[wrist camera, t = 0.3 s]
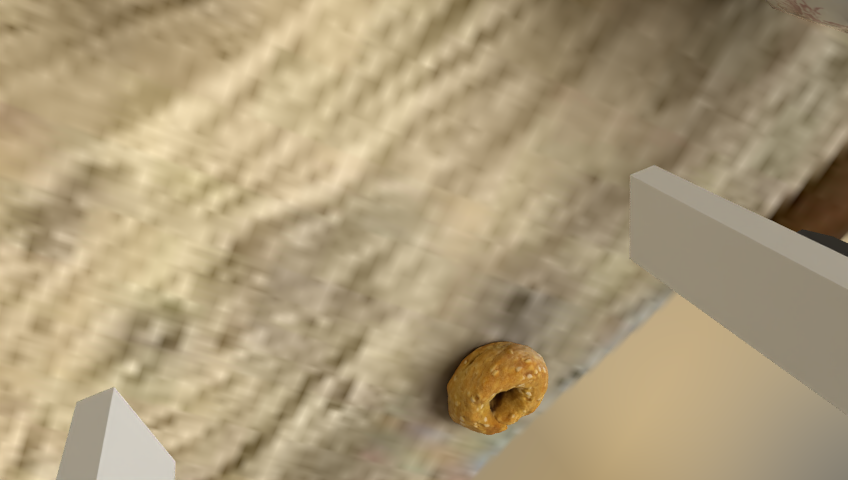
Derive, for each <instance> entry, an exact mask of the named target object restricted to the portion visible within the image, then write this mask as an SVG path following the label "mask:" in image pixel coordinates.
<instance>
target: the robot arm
mask: <svg viewBox="0 0 848 480" xmlns="http://www.w3.org/2000/svg"><path fill="white" fill-rule="evenodd" d="M630 259H631V260H632V261H634V262H635V263H636V264H638V265H639V266H641V267H642V268H643V269H645V270H646V271H647V272H649V273H650V274H652V275H653V276H654V277H656V278H657V279H659V280H660V281H661V282H663V283H664V284H665V285H667V286H668V287H670V288H671V289H672V290H674V291H675V292H677V293H678V294H679V295H681V296H682V297H684V298H685V299H686V300H688V301H689V302H691V303H692V304H693V305H695V306H696V307H697V308H699V309H700V310H702V311H703V312H704V313H706V314H707V315H709V316H710V317H711V318H713V319H714V320H716V321H717V322H719V323H720V324H721V325H722V326H724V327H725V328H727V329H728V330H729V331H731V332H732V333H734V334H735V335H736V336H738V337H739V338H741V339H742V340H743V341H745V342H746V343H748V344H749V345H750V346H752V347H753V348H754V349H756V350H757V351H759V352H760V353H761V354H763V355H764V356H765V357H767V358H768V359H770V360H771V361H772V362H774V363H775V364H777V365H778V366H779V367H781V368H782V369H784V370H785V371H786V372H788V373H789V374H790V375H792V376H793V377H795V378H796V379H797V380H799V381H800V382H802V383H803V384H804V385H806V386H807V387H808V388H810V389H811V390H813V391H814V392H815V393H817V394H818V395H820V396H821V397H823V398H824V399H825V400H827V401H828V402H829V403H831V404H832V405H834V406H835V407H836V408H838V409H839V410H840V411H842V412H843V413H845V414H846V415H847V416H848V243H846V242H844V241H841V240H839V239H837V238H835V237H832V236H828V235H824V234H820V233H815V232H811V231H807V230H803V229H802V230H800V231H798V232H794V231H792V230H790V229H788V228H786V227H783V226H781V225H779V224H777V223H775V222H773V221H771V220H769V219H767V218H765V217H762V216H760V215H758V214H756V213H754V212H752V211H750V210H748V209H746V208H744V207H741V206H739V205H737V204H735V203H733V202H731V201H729V200H727V199H725V198H723V197H720V196H718V195H716V194H714V193H712V192H710V191H708V190H706V189H704V188H702V187H699V186H697V185H695V184H693V183H691V182H689V181H687V180H685V179H683V178H681V177H678V176H676V175H674V174H672V173H670V172H668V171H666V170H664V169H662V168H660V167H657V166H655V165H653V166H651V167H648V168H646V169H644V170H641V171H639V172H636V173H634V174H631V175H630ZM56 480H175V460H174V459H173V458H172V457H171V455H170V454H169V453H168V452H167V451H166V449H165V448H164V447H163V446H162V445H161V443H160V442H159V441H158V440H157V438H156V437H155V436H154V435H153V434H152V432H151V431H150V430H149V429H148V427H147V426H146V425H145V424H144V423H143V421H142V420H141V419H140V418H139V417H138V415H137V414H136V413H135V412H134V410H133V409H132V408H131V407H130V406H129V404H128V403H127V402H126V401H125V399H124V398H123V397H122V396H121V395H120V393H119V392H118V391H117V390H116V388H115V387H112V388H110V389H107V390H105V391H103V392H100V393H98V394H95V395H93V396H90V397H88V398H85V399H83V400H81V401H78V402H77V403H76V407H75V410H74V414H73V418H72V422H71V425H70V429H69V433H68V437H67V440H66V444H65V448H64V452H63V455H62V459H61V463H60V467H59V470H58V474H57V478H56Z"/></svg>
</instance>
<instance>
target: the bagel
mask: <svg viewBox="0 0 848 480" xmlns="http://www.w3.org/2000/svg"><path fill="white" fill-rule="evenodd" d="M547 387H548V371H547V367H546V364H545V362H544V360H543V358H542V356H541V355H540V354H538V353H536V352H535V351H534V350H533V349H531V348H530V347H528V346H524V345H521V344H516V343H513V342H495V343H490V344H487V345H485V346H482V347H479V348H477V349H476V350H475V351H473V352H472V353H470V354H469V355H468V356H467V357H465V358H464V360H462V362H461V364H460V365H459V366H458V367H457V369H456V370H455V373H454V374H453V376H452V378H451V379H450V381H449V382H448V385H447V392H448V412H449V415H450V417H451V418H452V420H453V421H454V422H456V423H458V424H460V425H462V426H464V427H466V428H468V429H470V430H473V431H476V432H479V433H483V434H487V435H492V434H495V433H499V432H502V431H504V430H506V429H507V425H510V424H514V422H517V421H518V419H519V418H520V417H522V416H526V415H529V414H530V413H533V412H534V411H535V409H536V408H537V407H538V406H539V405H540V403H541V401H542V399H543V397H544V396H543V395H544V394H545V392H546V390H547Z"/></svg>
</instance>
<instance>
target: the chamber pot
mask: <svg viewBox="0 0 848 480" xmlns="http://www.w3.org/2000/svg"><path fill="white" fill-rule="evenodd" d="M766 1H767V2H768V4H769V5H770V6H771V7H772V8H773V9H776V10H779V11H782V12H784V13H787V14H790V15H793V16H795V17H798V18H801V19H804V20H807V21H810V22H813V23H816V24H819V25H823V26H826V27H829V28H832V29H835V30H839V31H842V32H845V33H848V0H766Z"/></svg>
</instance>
